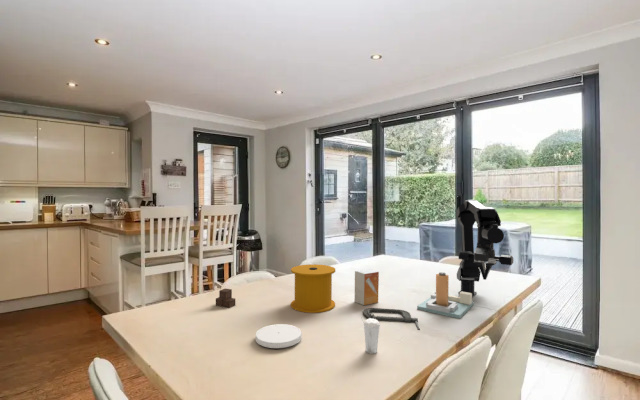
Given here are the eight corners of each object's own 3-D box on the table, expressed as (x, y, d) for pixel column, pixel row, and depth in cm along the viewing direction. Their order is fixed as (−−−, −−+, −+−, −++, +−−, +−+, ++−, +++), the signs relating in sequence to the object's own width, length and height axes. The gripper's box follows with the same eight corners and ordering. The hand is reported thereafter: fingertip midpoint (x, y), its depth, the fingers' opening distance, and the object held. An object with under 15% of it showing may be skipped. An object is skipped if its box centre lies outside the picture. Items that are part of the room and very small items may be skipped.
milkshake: (359, 348, 97) (359, 314, 97) (377, 347, 98) (377, 313, 98) (362, 355, 93) (362, 319, 93) (381, 354, 93) (381, 319, 93)
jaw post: (435, 304, 133) (435, 271, 133) (447, 305, 132) (447, 272, 132) (436, 308, 129) (436, 274, 129) (449, 309, 127) (449, 274, 127)
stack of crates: (253, 303, 139) (253, 286, 139) (229, 314, 126) (229, 296, 125) (225, 298, 145) (225, 282, 145) (199, 308, 132) (199, 291, 132)
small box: (364, 306, 135) (364, 273, 134) (354, 301, 140) (354, 270, 140) (378, 302, 139) (379, 271, 139) (368, 298, 144) (368, 268, 144)
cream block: (445, 297, 142) (445, 288, 142) (471, 302, 135) (472, 293, 135) (443, 299, 139) (443, 290, 139) (470, 304, 133) (470, 294, 133)
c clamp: (417, 313, 128) (417, 306, 128) (420, 331, 111) (420, 323, 111) (364, 309, 132) (364, 302, 132) (359, 325, 116) (359, 318, 116)
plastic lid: (306, 348, 98) (306, 339, 98) (257, 354, 94) (257, 345, 94) (296, 329, 111) (296, 322, 111) (253, 334, 107) (253, 326, 107)
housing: (434, 297, 147) (434, 290, 147) (473, 304, 137) (473, 297, 137) (417, 309, 131) (417, 301, 131) (459, 318, 121) (459, 310, 121)
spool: (344, 305, 136) (344, 268, 136) (313, 316, 123) (313, 276, 122) (312, 295, 148) (312, 262, 148) (281, 305, 135) (281, 268, 135)
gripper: (454, 239, 130) (454, 279, 130) (509, 244, 119) (508, 288, 119) (462, 237, 139) (462, 274, 139) (513, 241, 127) (513, 281, 128)
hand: (484, 279), depth 131 cm, fingers closed
